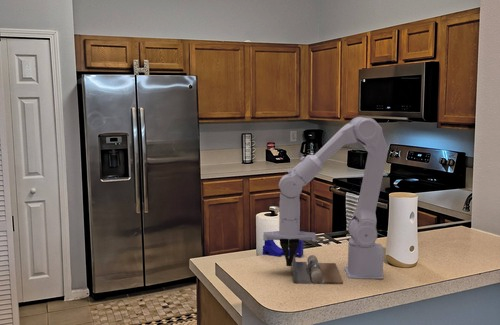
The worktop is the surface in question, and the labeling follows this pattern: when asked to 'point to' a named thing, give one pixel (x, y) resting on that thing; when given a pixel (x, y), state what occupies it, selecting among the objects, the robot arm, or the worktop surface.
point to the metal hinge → (302, 270)
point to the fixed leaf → (325, 273)
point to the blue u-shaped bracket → (280, 249)
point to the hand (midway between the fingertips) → (288, 265)
